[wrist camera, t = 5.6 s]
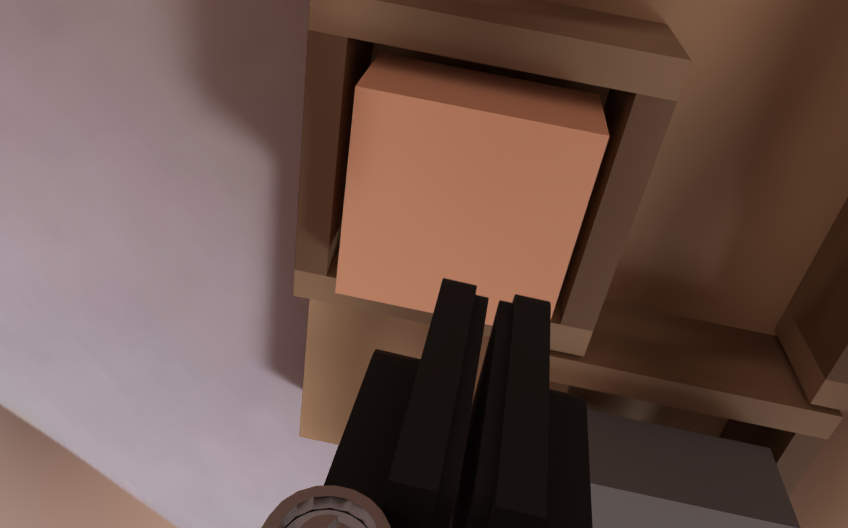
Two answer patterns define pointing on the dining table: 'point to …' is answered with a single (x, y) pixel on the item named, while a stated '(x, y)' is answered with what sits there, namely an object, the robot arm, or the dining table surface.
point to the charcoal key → (680, 479)
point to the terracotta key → (464, 183)
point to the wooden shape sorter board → (636, 214)
